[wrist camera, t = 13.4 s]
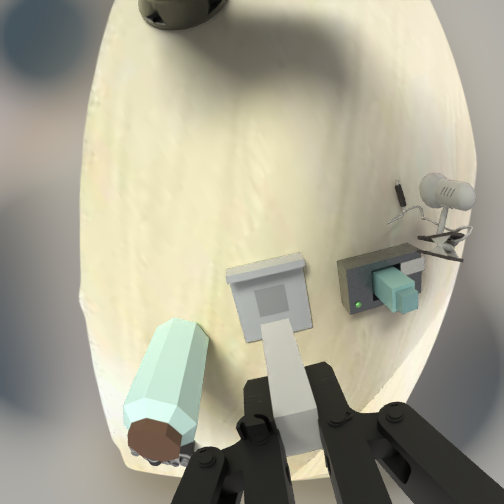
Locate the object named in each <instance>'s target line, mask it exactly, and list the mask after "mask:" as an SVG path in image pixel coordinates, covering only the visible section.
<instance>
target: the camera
mask: <svg viewBox="0 0 504 504" xmlns="http://www.w3.org/2000/svg"><path fill="white" fill-rule="evenodd" d="M194 446H195V441H193V442H191V443H188V444H186V445H183V446H181V447H180V453H179V458H178V459H174V460H170V461H166V462H160V461H156V460H152V459H148V458H144V457H143V458H144V459H146V460H148V461H149V463H150V464H151V465H153V466H158V465H160V464H161V463H162V464H166V465H173V466H174V467H178V466H179V464H180V465H182V466H184V467H187V464H188V462H189V460H190V458H191V456H192V455H193V453H194ZM129 448H130V447H129ZM130 450H131V454H132V455H134V456H139V454H138V453H137V452H136V451H134V450H133V449H132V448H130Z"/></svg>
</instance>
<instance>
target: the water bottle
mask: <svg viewBox="0 0 504 504" xmlns="http://www.w3.org/2000/svg"><path fill="white" fill-rule="evenodd" d="M208 342H209V338H208V337H207V336H206V334H205V333H204V332H203V331H202V329H201V328H200V327H199V325H198V324H197V323H196V322H192V321H187V320H183V319H179V318H175V317H174V318H172V319H171V320H169V321H167V322H165V323H163V324H162V325H160V326H158V327H157V329H156V331H155V333H154V335H153V338H152V340H151V342H150V344H149V347H148V349H147V351H146V353H145V356H144V358H143V360H142V362H141V365H140V367H139V369H138V372H137V374H136V376H135V379H134V381H133V383H132V386H131V388H130V390H129V393H128V395H127V398H126V400H125V403H124V405H123V415H124V425H125V426H126V428H127V429H128V430H129V431H128V446H129V447H130V448H132V449H133V450H134V451H136V452H137V453H138V454H139V455H141V456H142V457H144V458H148V459H152V460H156V461H160V462H166V461H170V460H174V459H178V458H179V453H180V447H181V446H183V445H186V444H188V443H191V442H193V441H194V437H195V432H196V428H197V423H198V415H199V407H200V399H201V392H202V384H203V377H204V370H205V363H206V356H207V349H208Z"/></svg>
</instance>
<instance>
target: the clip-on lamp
mask: <svg viewBox="0 0 504 504" xmlns="http://www.w3.org/2000/svg"><path fill="white" fill-rule="evenodd" d="M395 188H396V191H397V194H398V198H399V201H400V205H401V207H403V211H402V213H401V214H399V215H398V216H396V217H395V218H393V219H392V220H390V221H389V222H387V223H386V224H389V223H391V222H393V221H395V220H397V219H399V218H400V217H401V216H402V215H403V214H404V213H405V212H407V211H409V210H410V209H412V208H415V207H418V208H420V211H421V219H423V220H428V221H431V222H433V223H434V224H436V225H438V230H437V234H436V235H432V236H427V237H426V236H418V239H419V240H424V241H429V242H434V243H436V244H437V245H438V246H437V247H436V248H434V249H433V250H432V251H430V252H428V251H422V250H417V253H423V254H428V255H432V256H436V257H440V258H444V259H447V260H453V261H459V262H463V259H460V258H459V257H458V255H457V254H456V252H455V250H454V248H455V246H456V245H457V244H458V243H459V242H460V241H463V240H464V239H466V238H467V237H468V236H469V235H470V234H471V232H472V230H473V227H472V226H462V227H459V228H457V229H456V230H451V229H448V228H446V227H445V222H446V218H447V213H448V208H451V209H453V208H455V209H459V210H463V211H467V210H469V209H471V208H472V207H473V205H474V204H475V200H476V194H475V191H474V189H473V187H472V186H471V185H470V184H468V183H465V182H459V181H453V180H447V178H446V177H444V176H443V175H441V174H438V173H431V174H428V175H426V176H425V177H424V178H423V179H422V181H421V184H420V190H419V192H420V196H421V198H422V200H423V202H424V203H425V204H426V205H427V206H429V207H431V208H441V207H443V210H442V211H441V216H440V221H439V224H438V223H436V222H434V221H432V220H430V219H428V218H425V217H424V214H423V210H422V208H421V207H420V206H413V207H411V208H409V209H407V210H406V211H405V206H406V201H405V197H404V194H403V191H402V188H401V185H400V184H399V181H398V180H396V186H395ZM466 228H471V230H470V231H469V233H468V234H466V235H465V234H462V233H458V232H459V231H460V230H462V229H466ZM444 229H446V230H448V231H451V232H448V233H443V231H444ZM464 235H465V236H464Z"/></svg>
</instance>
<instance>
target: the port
mask: <svg viewBox="0 0 504 504" xmlns="http://www.w3.org/2000/svg"><path fill="white" fill-rule="evenodd" d="M417 250H420V249H418V248H416V247H414V246H412V245H410V244H408V243H406V244H402V245H398V246H394V247H391V248H387V249H383V250H379V251H375V252H371V253H367V254H363V255H359V256H355V257H351V258H347V259H343V260H339V261H337V265H338V273H339V281H340V290H341V299H342V304H343V305H344V307H345V308H346V309H347V311H348V312H349V314H350V315H351V314H354V313H358V312H361V311H365V310H368V309H371V308H375V307H378V306H381V305H384V303H383V302H382V301H381V300H380V299H379V298H378V297H377V296H376V295H375V294H374V293H373V289H372V275H371V271H373V270H376V269H380V268H384V267H387V266H391V265H392V266H394V267H395V268H397V269H398V270H399V271H401V272H402V273H404V274H405V275H406V276H408V277H409V278H410V279H412V280H413V281H415V289H416V290H417V291H418V293H421V271H422V270H425V256H423V257H421V253H417Z"/></svg>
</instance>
